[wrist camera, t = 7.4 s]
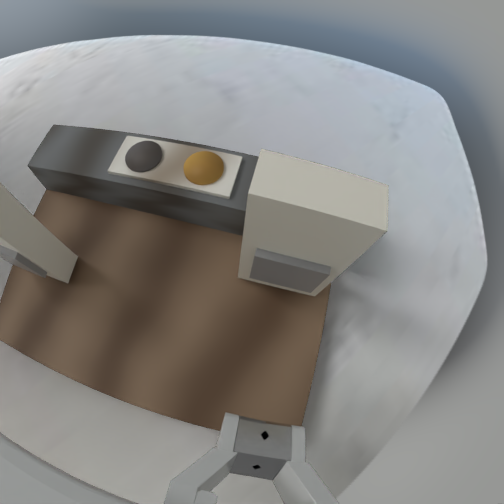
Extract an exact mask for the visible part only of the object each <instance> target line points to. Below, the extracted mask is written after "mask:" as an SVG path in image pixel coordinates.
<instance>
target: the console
mask: <svg viewBox="0 0 504 504" xmlns="http://www.w3.org/2000/svg"><path fill="white" fill-rule="evenodd" d="M258 158H259V157H257V156H253V155H248V154H244V153H239V152H235V151H230V150H225V149H221V148H216V147H211V146H206V145H201V144H195V143H190V142H184V141H179V140H173V139H167V138H161V137H155V136H148V135H142V134H135V133H127V132H120V131H112V130H104V129H95V128H85V127H75V126H63V125H53V126H52V128H51V129H50V131H49V132H48V134H47V135H46V137H45V138H44V140H43V141H42V143H41V144H40V146H39V147H38V149H37V151H36V152H35V154H34V156H33V157H32V159H31V161H30V162H29V164H28V167H29V168H30V169H31V171H32V172H33V173H34V174H35V176H36V177H37V178H38V179H39V181H40V182H41V183H42V184H43V185H44V187H45V188H46V189H47V190H46V192H45V194H44V195H43V197H42V199H41V201H40V203H39V205H38V208H37V210H36V212H35V214H34V217H35V218H36V219H37V220H38V221H39V222H40V223H41V224H42V225H43V226H45V227H46V228H47V229H48V230H49V231H50V232H51V233H52V234H53V235H54V236H55V237H56V238H58V239H59V240H60V241H61V242H62V243H63V244H64V245H65V246H66V247H68V248H69V249H70V250H71V251H72V252H73V253H74V254H76V255H77V256H78V258H77V261H76V263H75V266H74V269H73V271H72V274H71V277H70V280H69V282H68V283H65V282H63V281H60V280H58V279H55V278H52V277H50V276H47V275H46V278H44V277H41V276H39V275H36V274H34V273H32V272H29V271H27V270H25V269H22V268H20V267H18V266H15V265H13V266H12V269H11V271H10V274H9V277H8V280H7V283H6V286H5V289H4V292H3V295H2V298H1V301H0V340H1V341H3V342H4V343H6V344H8V345H9V346H11V347H13V348H14V349H16V350H18V351H19V352H21V353H23V354H25V355H26V356H28V357H30V358H32V359H34V360H35V361H37V362H39V363H41V364H43V365H45V366H47V367H49V368H51V369H53V370H54V371H56V372H58V373H60V374H63V375H65V376H67V377H69V378H71V379H73V380H75V381H77V382H79V383H82V384H84V385H86V386H88V387H91V388H93V389H95V390H97V391H100V392H102V393H105V394H107V395H109V396H112V397H114V398H117V399H120V400H122V401H125V402H127V403H130V404H133V405H135V406H138V407H141V408H144V409H147V410H150V411H153V412H156V413H159V414H162V415H165V416H168V417H171V418H174V419H178V420H181V421H184V422H188V423H191V424H195V425H199V426H202V427H206V428H210V429H214V430H218V431H220V430H221V426H222V423H223V419H224V416H225V413H226V412H227V413H231V414H235V415H239V416H244V417H248V418H253V419H258V420H262V421H270V422H277V423H283V424H291V425H295V426H302V422H303V418H304V414H305V410H306V406H307V401H308V397H309V393H310V389H311V384H312V380H313V375H314V371H315V366H316V362H317V357H318V352H319V347H320V342H321V337H322V332H323V327H324V321H325V316H326V310H327V304H328V299H329V293H330V287H331V283H330V284H329V285H328V286H326V287H325V288H324V289H323V290H322V291H321V292H319V293H318V294H317V295H316V296H311V295H306V294H302V293H298V292H294V291H290V290H286V289H281V288H277V287H273V286H269V285H265V284H261V283H257V282H253V281H249V280H245V279H241V278H238V271H239V263H240V254H241V246H242V238H243V230H244V222H245V214H246V206H247V198H248V192H249V188H250V185H251V182H252V178H253V175H254V171H255V168H256V165H257V161H258Z"/></svg>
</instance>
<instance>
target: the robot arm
mask: <svg viewBox="0 0 504 504" xmlns="http://www.w3.org/2000/svg"><path fill="white" fill-rule="evenodd" d="M229 473H233V474H239V475H246V476H252V477H257V478H263V479H269V480H273V483H274V485H275V487H276V489H277V490H278V492H279V494H280V496H281V498H282V500H283V502H284V504H339V502H338V501H337V500H336V499H335V497H334V496H333V495H332V493H331V492H330V491H329V489H328V488H327V486H326V485H325V484H324V482H323V481H322V480H321V478H320V477H319V476H318V474H317V473H316V471H315V470H314V469H313V467H312V466H311V464H310V463H306V429H305V427H303V426H295V425H291V424H283V423H277V422H270V421H262V420H258V419H253V418H248V417H244V416H239V415H235V414H231V413H227V412H226V413H225V416H224V419H223V423H222V426H221V430H220V433H219V437H218V441H217V446H216V448H212V449H211V450H210V451H209V452H207V453H206V454H205V455H204V456H203V457H201V458H200V459H199V460H197V461H196V462H195V463H194V464H192V465H191V466H190V467H188V468H187V469H186V470H185V471H183V472H182V473H181V474H179V475H178V476H177V477H175V478H174V479H173V480H171V482H170V485H169V488H168V491H167V495H166V498H165V501H164V504H216V503H217V498H218V496H217V495H216V494H215V493H213V492H210V491H211V490H212V489H213V488H214V487H215V486H217V485H218V484H219V483H220V482H221V481H222V480H223V479H224V478H225V477H226V476H227V475H228V474H229ZM0 504H138V503H135V502H132V501H129V500H127V499H124V498H121V497H119V496H116V495H114V494H111V493H109V492H106V491H104V490H102V489H99V488H97V487H95V486H93V485H90V484H88V483H86V482H84V481H82V480H80V479H78V478H76V477H74V476H72V475H70V474H68V473H66V472H64V471H62V470H60V469H58V468H56V467H54V466H53V465H51V464H49V463H47V462H46V461H44V460H42V459H40V458H39V457H37V456H35V455H34V454H32V453H30V452H29V451H27V450H26V449H24V448H22V447H21V446H19V445H18V444H16V443H15V442H13V441H12V440H10V439H9V438H7V437H6V436H4V435H3V434H2V433H0Z"/></svg>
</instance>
